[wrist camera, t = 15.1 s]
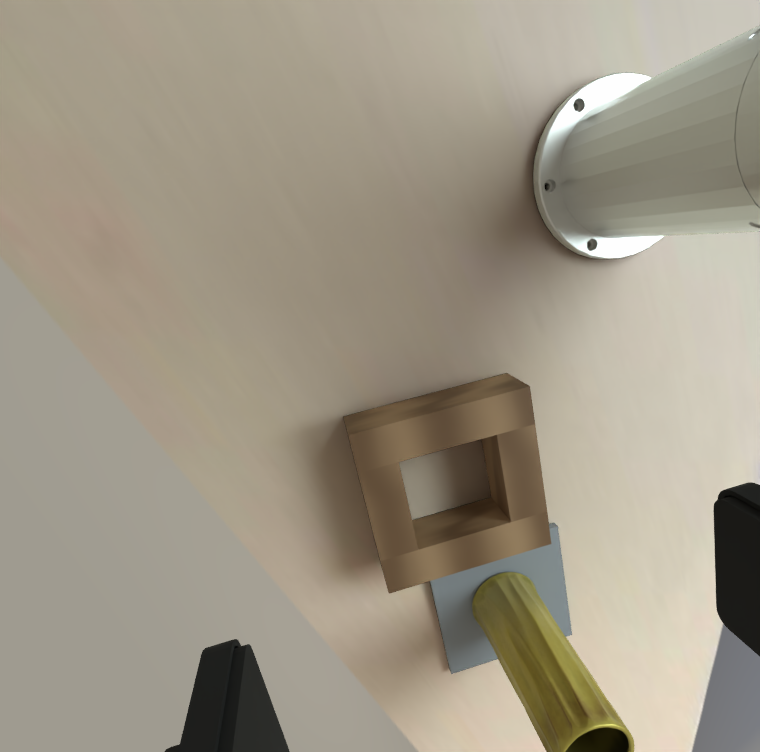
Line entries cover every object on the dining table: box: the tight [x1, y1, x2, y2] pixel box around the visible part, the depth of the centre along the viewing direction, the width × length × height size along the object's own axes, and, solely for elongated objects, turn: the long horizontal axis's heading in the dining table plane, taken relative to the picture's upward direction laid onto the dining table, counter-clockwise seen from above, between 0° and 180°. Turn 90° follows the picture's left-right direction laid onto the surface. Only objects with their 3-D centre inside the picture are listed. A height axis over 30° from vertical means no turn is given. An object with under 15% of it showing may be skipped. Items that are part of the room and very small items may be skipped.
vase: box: [472, 572, 634, 752], centre depth 37 cm, size 6×6×14 cm
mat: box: [430, 523, 572, 674], centre depth 44 cm, size 12×12×1 cm
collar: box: [343, 373, 551, 593], centre depth 38 cm, size 14×14×4 cm
